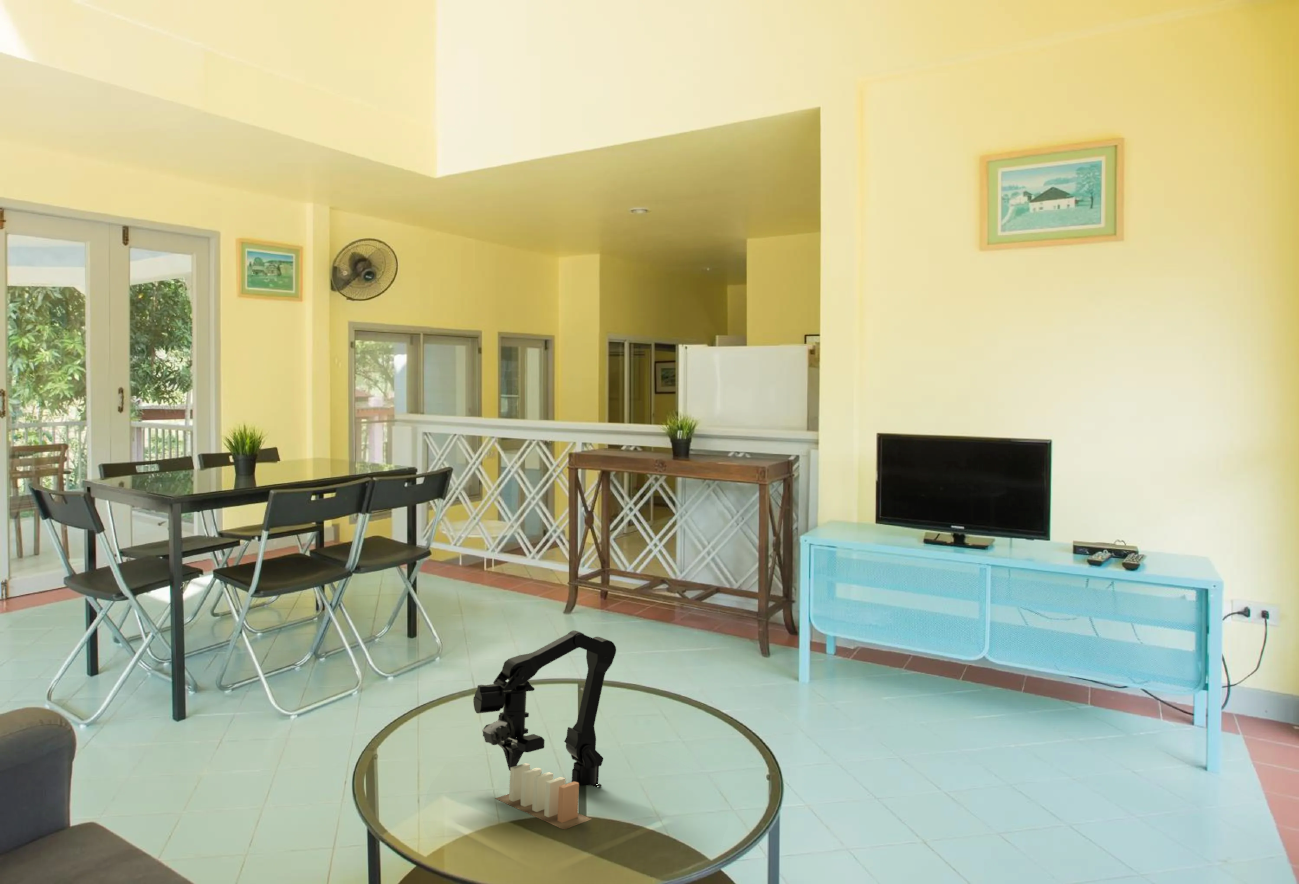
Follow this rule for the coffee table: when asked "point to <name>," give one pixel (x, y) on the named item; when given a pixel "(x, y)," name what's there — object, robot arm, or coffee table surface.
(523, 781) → the ivory domino
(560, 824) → the walnut board
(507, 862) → the coffee table surface
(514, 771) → the ivory domino
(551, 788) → the ivory domino
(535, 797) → the ivory domino
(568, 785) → the terracotta domino
